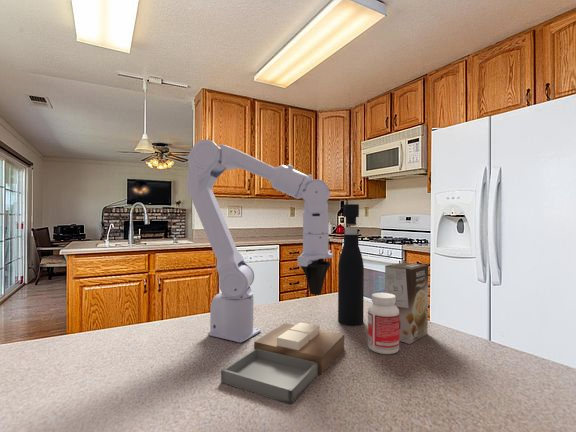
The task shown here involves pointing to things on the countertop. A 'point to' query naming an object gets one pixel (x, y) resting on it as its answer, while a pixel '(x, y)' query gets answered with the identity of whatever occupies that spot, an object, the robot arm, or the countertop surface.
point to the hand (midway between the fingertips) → (315, 293)
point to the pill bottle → (383, 324)
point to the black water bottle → (350, 273)
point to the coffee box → (409, 298)
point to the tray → (271, 374)
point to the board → (306, 346)
